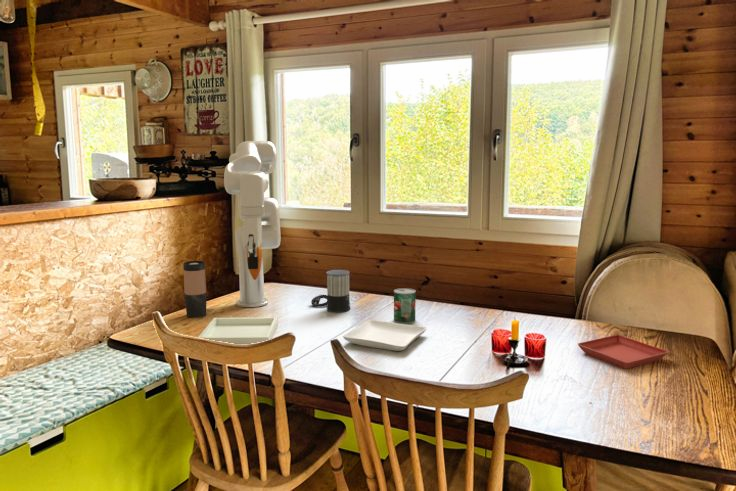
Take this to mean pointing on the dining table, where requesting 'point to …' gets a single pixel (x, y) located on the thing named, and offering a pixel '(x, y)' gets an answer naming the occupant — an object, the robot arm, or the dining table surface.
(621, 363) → the plant saucer
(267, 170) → the robot arm
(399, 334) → the salad plate
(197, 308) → the travel mug
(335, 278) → the milk frother
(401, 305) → the canned tomato
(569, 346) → the dining table surface
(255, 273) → the carrot
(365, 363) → the dining table surface
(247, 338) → the tray
